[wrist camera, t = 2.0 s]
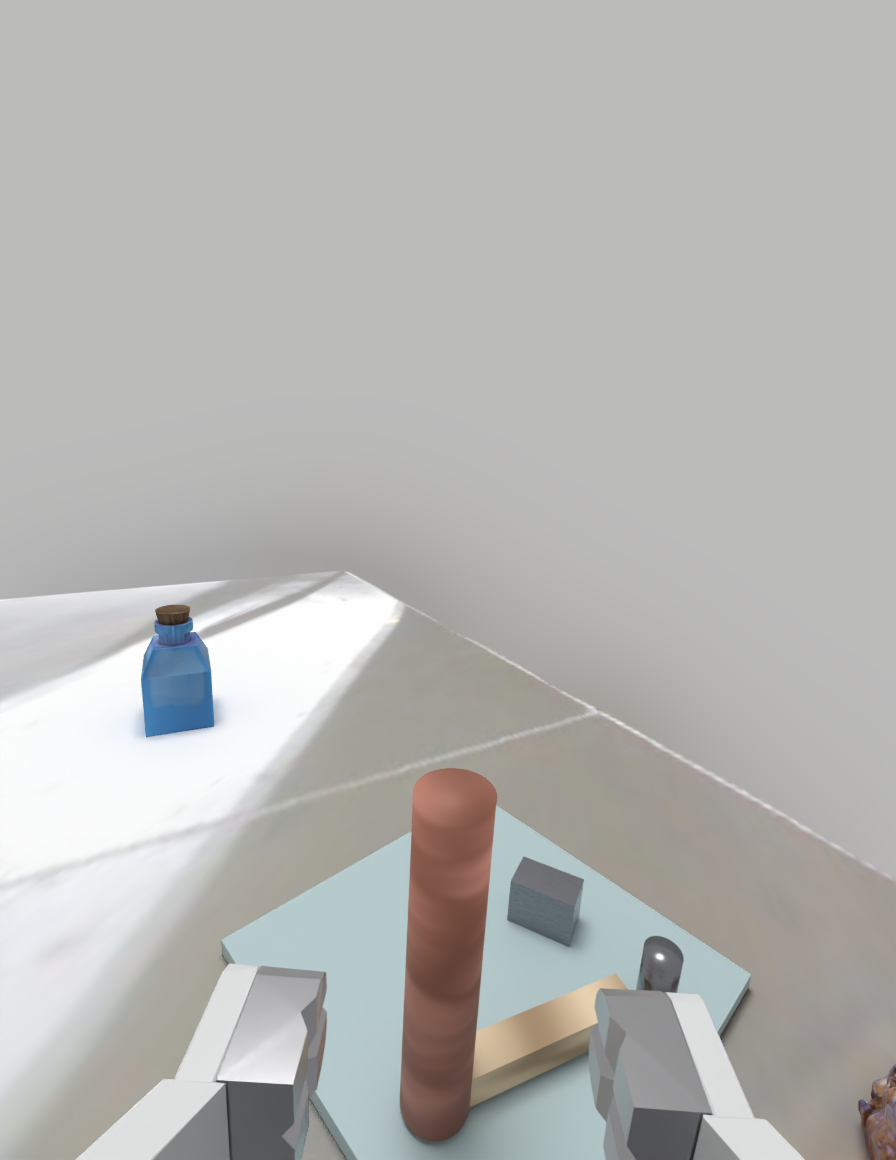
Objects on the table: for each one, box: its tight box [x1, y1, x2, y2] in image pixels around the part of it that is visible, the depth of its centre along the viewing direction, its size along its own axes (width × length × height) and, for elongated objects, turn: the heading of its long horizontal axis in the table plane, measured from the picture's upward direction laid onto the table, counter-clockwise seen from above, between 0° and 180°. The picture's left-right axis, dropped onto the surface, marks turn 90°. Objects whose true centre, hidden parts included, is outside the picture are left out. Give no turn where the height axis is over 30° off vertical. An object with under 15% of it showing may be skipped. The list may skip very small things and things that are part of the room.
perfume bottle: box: [141, 605, 214, 737], centre depth 58 cm, size 6×6×12 cm
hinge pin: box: [636, 936, 684, 993], centre depth 31 cm, size 2×2×4 cm
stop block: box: [507, 856, 584, 947], centre depth 36 cm, size 4×2×3 cm, turn 64°
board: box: [221, 806, 751, 1160], centre depth 33 cm, size 22×22×1 cm
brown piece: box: [400, 768, 628, 1142], centre depth 25 cm, size 12×3×16 cm, turn 113°
